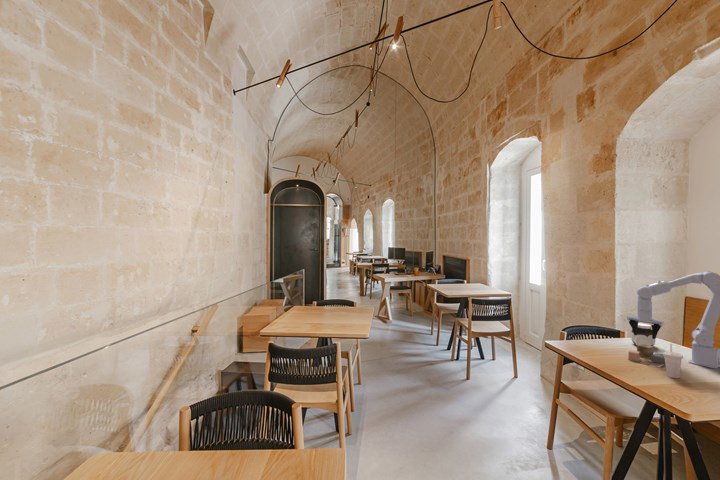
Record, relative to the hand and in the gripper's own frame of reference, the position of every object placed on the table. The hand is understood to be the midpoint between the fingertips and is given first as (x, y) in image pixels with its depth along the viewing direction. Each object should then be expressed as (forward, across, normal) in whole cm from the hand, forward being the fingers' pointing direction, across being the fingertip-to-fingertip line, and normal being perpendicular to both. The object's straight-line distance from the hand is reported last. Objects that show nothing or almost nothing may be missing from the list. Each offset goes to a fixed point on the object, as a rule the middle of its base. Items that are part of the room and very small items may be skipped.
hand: (644, 336), depth 174 cm
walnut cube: (+10, 0, 0) cm, 10 cm away
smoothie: (+10, -18, +22) cm, 30 cm away
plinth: (+10, -9, +5) cm, 14 cm away
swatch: (+9, -7, +12) cm, 17 cm away
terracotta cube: (+10, 0, +12) cm, 16 cm away
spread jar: (+10, +7, -17) cm, 20 cm away
